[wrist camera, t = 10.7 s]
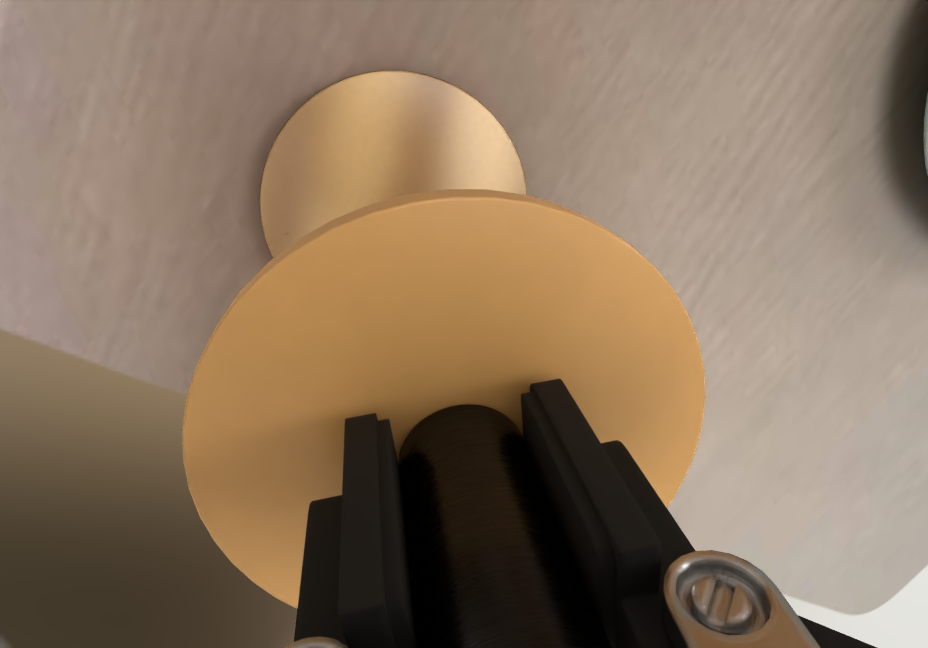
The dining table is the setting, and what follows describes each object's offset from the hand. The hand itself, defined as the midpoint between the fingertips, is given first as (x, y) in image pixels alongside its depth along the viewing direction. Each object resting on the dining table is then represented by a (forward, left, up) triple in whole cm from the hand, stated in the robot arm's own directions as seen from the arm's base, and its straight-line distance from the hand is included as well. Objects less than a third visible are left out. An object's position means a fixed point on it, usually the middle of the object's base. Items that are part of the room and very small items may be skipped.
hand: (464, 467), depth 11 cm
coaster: (0, 0, -18) cm, 18 cm away
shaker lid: (0, 0, -1) cm, 1 cm away
